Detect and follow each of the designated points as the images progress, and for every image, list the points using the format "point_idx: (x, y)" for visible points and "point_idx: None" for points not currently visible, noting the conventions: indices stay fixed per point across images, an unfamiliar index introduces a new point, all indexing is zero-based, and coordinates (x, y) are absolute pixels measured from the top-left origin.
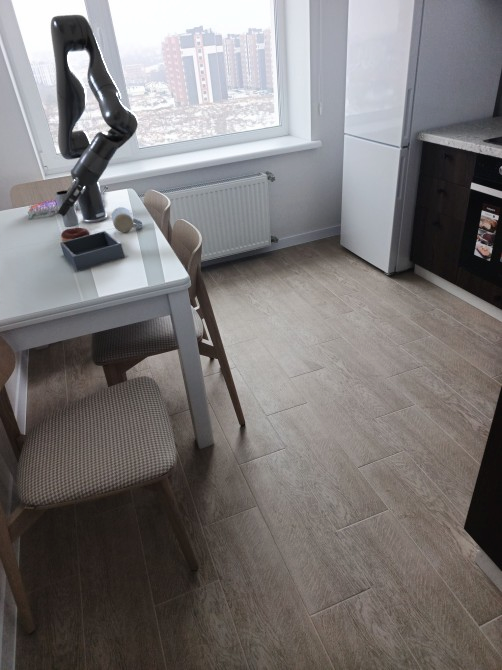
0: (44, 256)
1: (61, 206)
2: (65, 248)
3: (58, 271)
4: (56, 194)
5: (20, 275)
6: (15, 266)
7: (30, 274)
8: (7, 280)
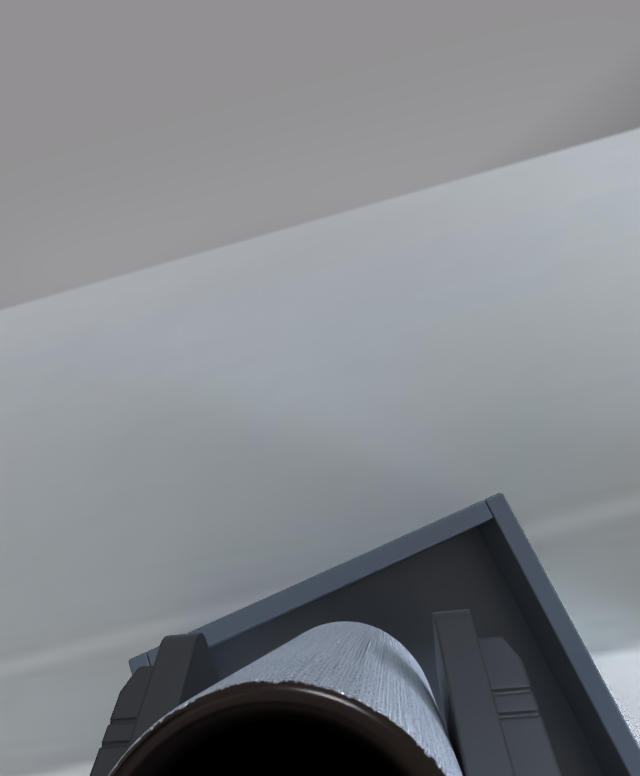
0: (514, 372)
1: (129, 742)
2: (341, 564)
3: (220, 516)
4: (136, 748)
5: (250, 306)
6: (397, 243)
7: (242, 357)
8: (209, 259)
